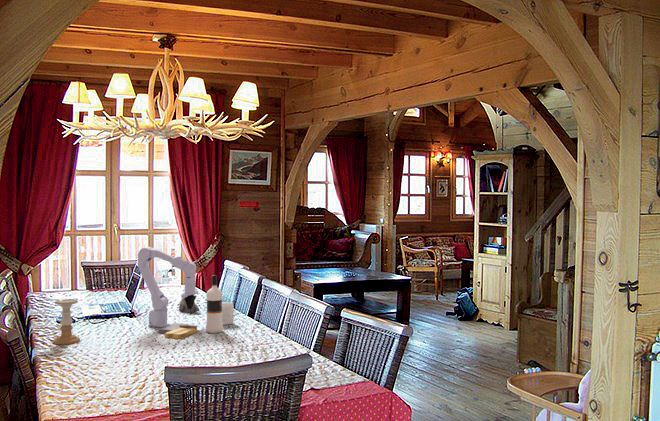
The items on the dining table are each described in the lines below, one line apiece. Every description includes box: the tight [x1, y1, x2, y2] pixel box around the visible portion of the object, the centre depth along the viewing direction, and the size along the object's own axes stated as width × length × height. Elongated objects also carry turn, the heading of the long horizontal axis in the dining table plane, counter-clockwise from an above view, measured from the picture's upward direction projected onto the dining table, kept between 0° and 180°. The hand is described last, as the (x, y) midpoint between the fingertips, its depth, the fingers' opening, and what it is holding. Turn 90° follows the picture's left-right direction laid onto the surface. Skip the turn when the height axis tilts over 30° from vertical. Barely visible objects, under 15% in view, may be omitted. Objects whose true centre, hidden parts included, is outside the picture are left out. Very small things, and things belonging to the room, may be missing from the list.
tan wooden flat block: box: [164, 324, 198, 339], centre depth 324 cm, size 9×16×3 cm, turn 163°
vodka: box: [205, 274, 224, 334], centre depth 331 cm, size 9×9×30 cm
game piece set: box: [224, 344, 268, 360], centre depth 287 cm, size 19×20×4 cm
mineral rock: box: [178, 298, 200, 313], centre depth 383 cm, size 13×11×10 cm
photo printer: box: [222, 301, 235, 326], centre depth 349 cm, size 10×4×12 cm, turn 123°
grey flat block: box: [158, 322, 189, 334], centre depth 334 cm, size 8×16×2 cm, turn 163°
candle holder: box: [52, 298, 81, 346], centre depth 307 cm, size 12×12×20 cm
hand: (189, 309), depth 344 cm, fingers closed
